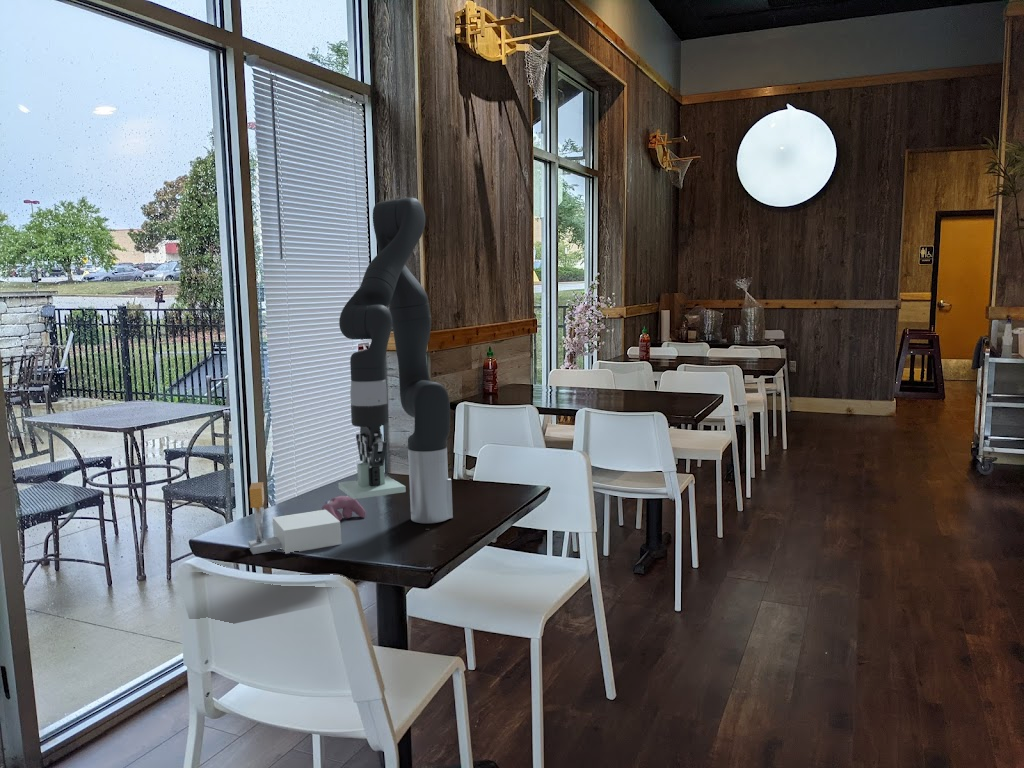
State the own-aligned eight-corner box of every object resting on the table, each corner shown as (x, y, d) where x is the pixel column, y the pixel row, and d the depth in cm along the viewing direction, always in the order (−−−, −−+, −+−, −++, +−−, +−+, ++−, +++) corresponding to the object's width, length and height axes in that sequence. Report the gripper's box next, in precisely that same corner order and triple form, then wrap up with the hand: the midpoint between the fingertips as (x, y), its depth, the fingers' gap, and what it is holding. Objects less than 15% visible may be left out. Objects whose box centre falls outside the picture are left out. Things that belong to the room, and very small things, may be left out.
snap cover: (388, 481, 175) (387, 455, 174) (405, 492, 165) (404, 464, 165) (338, 488, 170) (337, 461, 169) (353, 499, 160) (352, 471, 160)
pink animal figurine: (357, 521, 198) (348, 494, 200) (368, 515, 196) (358, 488, 197) (326, 531, 191) (316, 503, 192) (337, 525, 188) (326, 497, 189)
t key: (256, 533, 178) (252, 479, 177) (267, 532, 179) (263, 478, 178) (253, 546, 169) (249, 489, 168) (265, 544, 170) (261, 488, 169)
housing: (326, 530, 185) (325, 509, 185) (341, 544, 175) (340, 521, 174) (246, 543, 177) (244, 521, 177) (256, 558, 167) (254, 535, 166)
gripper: (397, 404, 161) (400, 488, 163) (376, 397, 174) (379, 476, 176) (361, 407, 158) (365, 493, 160) (342, 399, 170) (345, 480, 172)
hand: (372, 483), depth 168 cm, fingers closed on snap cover, 2 cm apart
